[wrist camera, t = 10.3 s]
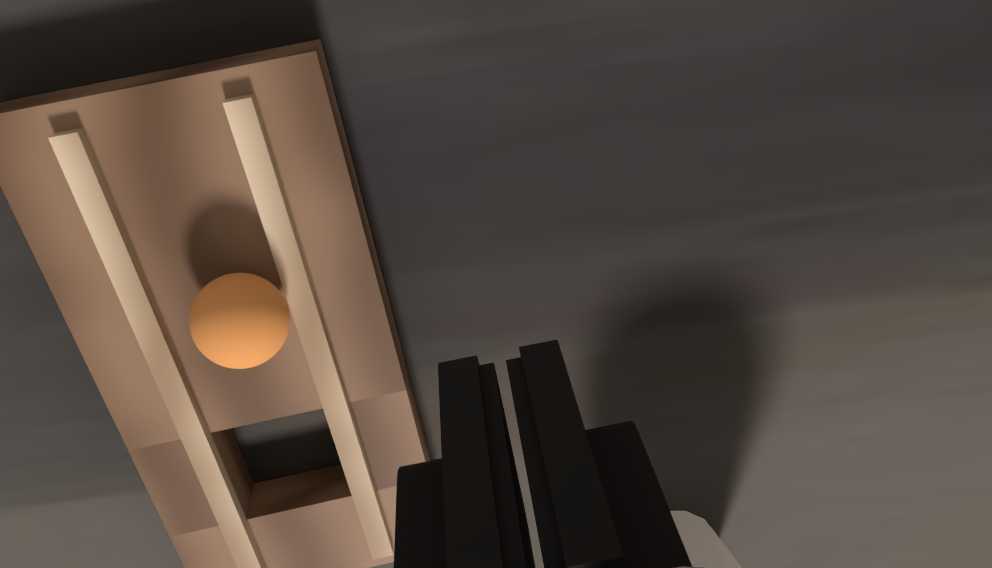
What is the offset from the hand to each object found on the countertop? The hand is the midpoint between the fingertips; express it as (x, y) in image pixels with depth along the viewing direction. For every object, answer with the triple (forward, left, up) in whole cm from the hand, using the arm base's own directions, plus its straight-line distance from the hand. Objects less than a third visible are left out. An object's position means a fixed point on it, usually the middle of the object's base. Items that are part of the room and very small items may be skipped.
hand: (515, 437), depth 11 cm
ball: (+9, +6, -18) cm, 21 cm away
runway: (+9, +9, -23) cm, 26 cm away
